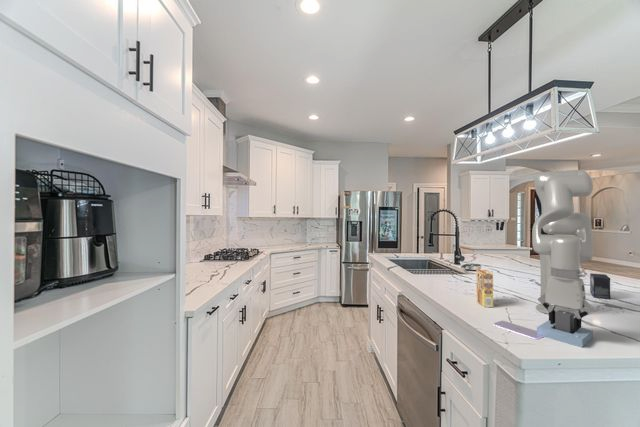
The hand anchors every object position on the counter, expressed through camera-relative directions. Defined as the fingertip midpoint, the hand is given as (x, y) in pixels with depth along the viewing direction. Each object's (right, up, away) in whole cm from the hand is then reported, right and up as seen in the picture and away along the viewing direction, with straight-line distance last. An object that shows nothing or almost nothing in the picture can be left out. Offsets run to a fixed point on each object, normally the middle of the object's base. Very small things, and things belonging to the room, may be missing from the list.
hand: (564, 325), depth 99 cm
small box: (+57, -3, +47) cm, 74 cm away
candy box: (-8, -4, +34) cm, 35 cm away
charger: (0, -4, 0) cm, 4 cm away
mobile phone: (-12, -4, +5) cm, 14 cm away
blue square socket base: (0, -4, 0) cm, 4 cm away
